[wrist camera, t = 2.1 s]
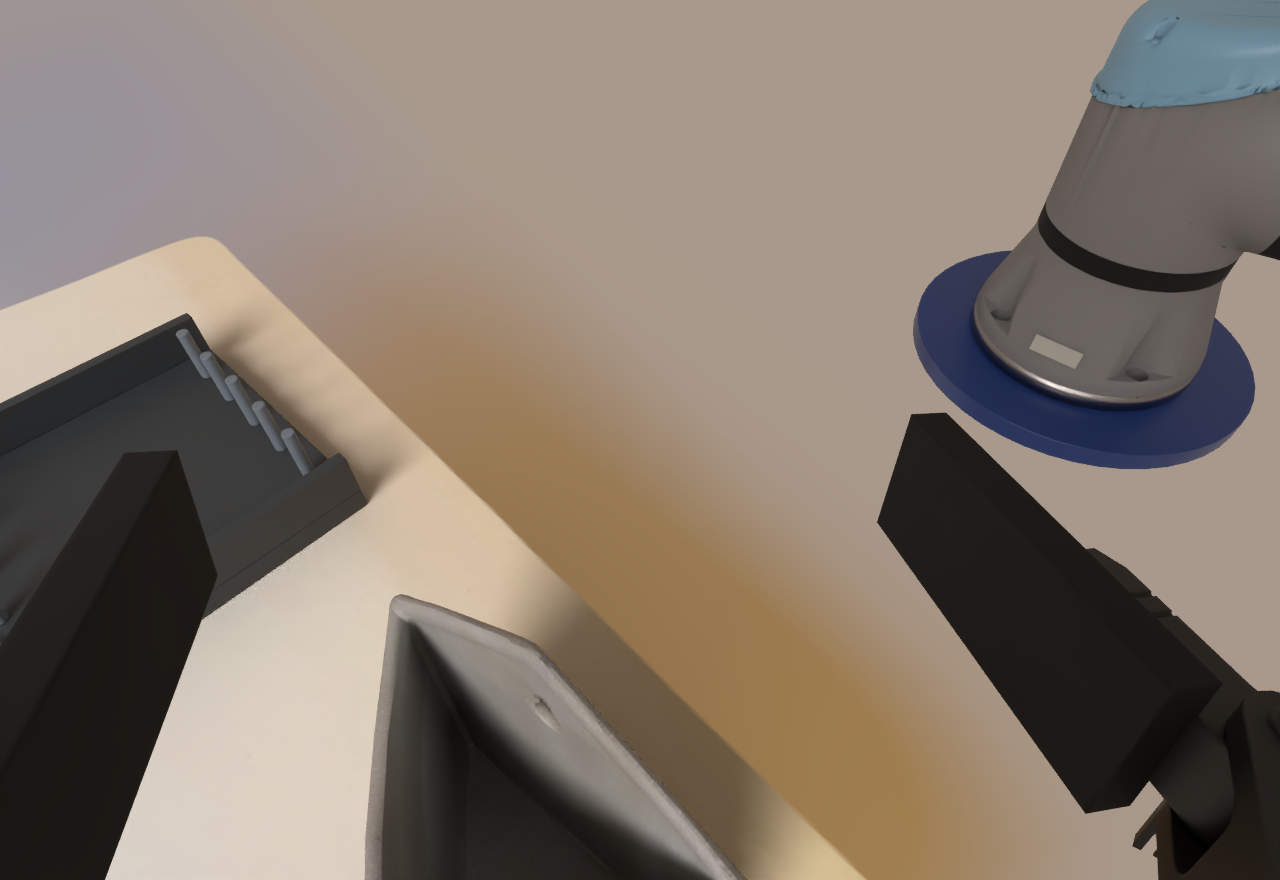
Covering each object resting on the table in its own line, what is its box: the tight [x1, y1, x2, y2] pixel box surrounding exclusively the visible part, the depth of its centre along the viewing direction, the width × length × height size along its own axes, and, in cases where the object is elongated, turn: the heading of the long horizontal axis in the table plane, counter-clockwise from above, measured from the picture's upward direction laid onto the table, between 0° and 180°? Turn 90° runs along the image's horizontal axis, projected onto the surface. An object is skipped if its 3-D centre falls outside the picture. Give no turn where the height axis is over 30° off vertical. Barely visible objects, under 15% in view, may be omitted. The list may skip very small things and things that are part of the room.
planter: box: [365, 594, 747, 880], centre depth 26 cm, size 16×8×19 cm, turn 51°
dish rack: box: [0, 313, 367, 646], centre depth 46 cm, size 20×21×6 cm
